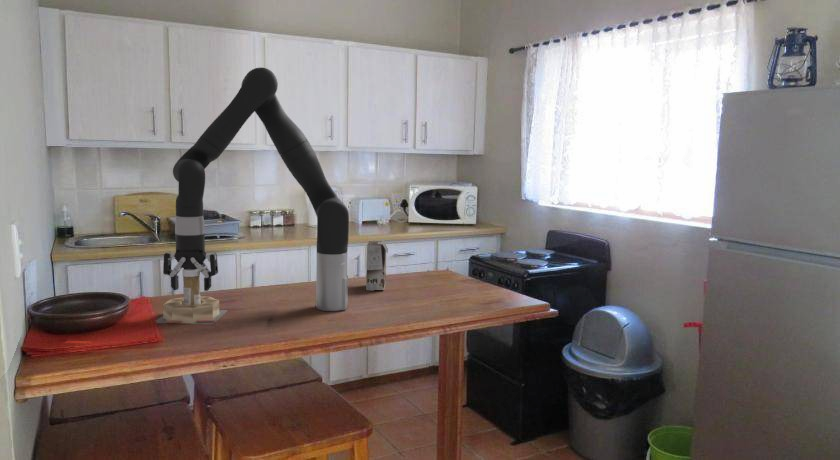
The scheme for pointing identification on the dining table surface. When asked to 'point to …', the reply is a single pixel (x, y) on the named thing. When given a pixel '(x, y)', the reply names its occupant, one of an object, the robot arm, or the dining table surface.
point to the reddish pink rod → (196, 321)
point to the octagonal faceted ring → (191, 310)
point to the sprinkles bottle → (191, 286)
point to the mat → (221, 312)
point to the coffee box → (376, 266)
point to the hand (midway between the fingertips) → (191, 289)
